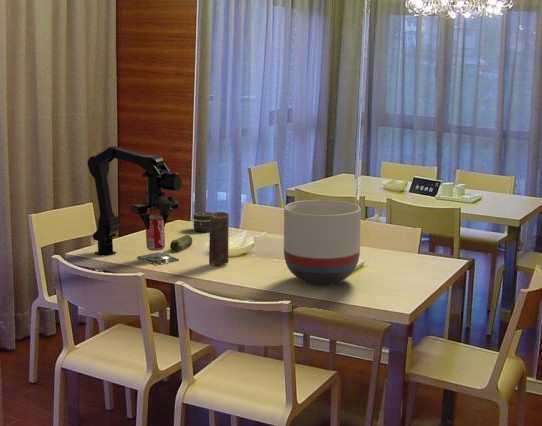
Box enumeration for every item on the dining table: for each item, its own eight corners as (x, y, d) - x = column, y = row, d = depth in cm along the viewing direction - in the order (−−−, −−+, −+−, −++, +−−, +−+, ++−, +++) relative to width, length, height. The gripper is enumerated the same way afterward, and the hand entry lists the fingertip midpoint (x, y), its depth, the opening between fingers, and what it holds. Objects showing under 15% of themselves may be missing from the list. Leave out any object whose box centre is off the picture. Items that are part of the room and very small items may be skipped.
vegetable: (179, 253, 331) (179, 241, 330) (168, 252, 333) (167, 240, 332) (195, 245, 344) (195, 234, 343) (184, 244, 346) (184, 232, 344)
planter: (371, 289, 284) (373, 212, 279) (297, 296, 277) (297, 217, 271) (342, 268, 310) (344, 198, 304) (274, 274, 302) (274, 202, 296)
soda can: (161, 251, 317) (160, 218, 314) (143, 250, 318) (142, 218, 315) (167, 247, 323) (166, 214, 321) (150, 246, 325) (149, 214, 322)
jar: (190, 232, 366) (190, 215, 364) (196, 227, 375) (196, 211, 374) (212, 233, 364) (212, 216, 362) (218, 228, 374) (217, 212, 372)
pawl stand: (137, 257, 324) (137, 254, 323) (158, 253, 330) (158, 250, 330) (157, 265, 314) (157, 261, 313) (178, 260, 320) (178, 257, 320)
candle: (232, 263, 316) (232, 212, 312) (223, 268, 309) (222, 216, 305) (214, 261, 319) (214, 210, 315) (205, 266, 313) (204, 214, 308)
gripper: (145, 194, 303) (146, 236, 307) (187, 189, 315) (187, 228, 319) (129, 190, 312) (130, 230, 315) (170, 185, 324) (171, 223, 327)
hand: (155, 228), depth 319 cm, fingers closed on soda can, 6 cm apart
